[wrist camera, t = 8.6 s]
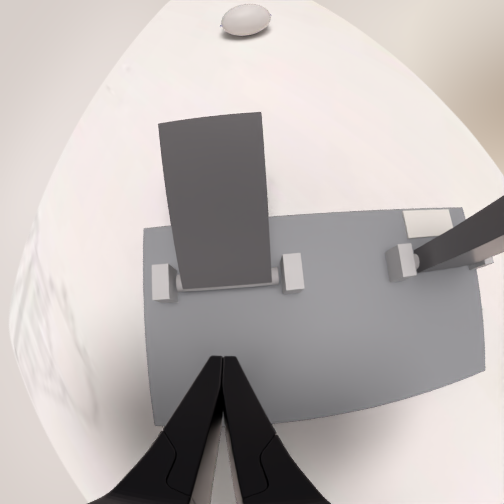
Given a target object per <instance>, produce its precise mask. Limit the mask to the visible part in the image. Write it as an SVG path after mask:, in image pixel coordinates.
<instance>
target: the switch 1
mask: <svg viewBox="0 0 504 504" xmlns="http://www.w3.org/2000/svg"><path fill="white" fill-rule="evenodd" d="M158 127H159V137H160V147H161V156H162V164H163V172H164V180H165V187H166V195H167V202H168V208H169V215H170V221H171V228H172V234H173V240H174V246H175V251H176V257H177V262H178V268H179V273H180V275H177V276H176V287H177V290H178V292H187V291H202V290H216V289H230V288H243V287H255V286H267V285H278V284H279V276H278V268H277V267H272V268H271V253H270V235H269V218H268V201H267V186H266V171H265V156H264V142H263V128H262V115H261V112H254V113H240V114H228V115H218V116H209V117H201V118H193V119H186V120H179V121H172V122H166V123H160V124H158Z"/></svg>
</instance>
